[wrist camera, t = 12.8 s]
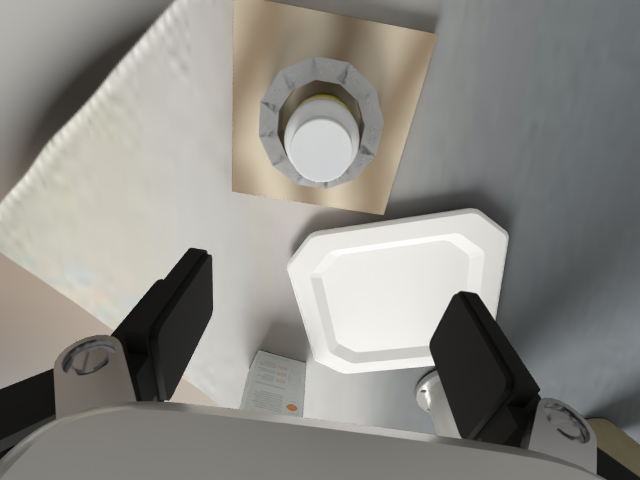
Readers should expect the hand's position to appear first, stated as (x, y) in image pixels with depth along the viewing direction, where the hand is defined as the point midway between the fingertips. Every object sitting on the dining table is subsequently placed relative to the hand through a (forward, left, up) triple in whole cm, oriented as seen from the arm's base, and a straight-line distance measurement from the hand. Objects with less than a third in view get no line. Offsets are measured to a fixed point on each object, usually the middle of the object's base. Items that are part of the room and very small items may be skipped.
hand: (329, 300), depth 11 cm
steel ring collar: (+1, -3, -20) cm, 20 cm away
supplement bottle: (+1, -3, -20) cm, 20 cm away
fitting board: (+1, -3, -21) cm, 21 cm away
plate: (-12, +17, -22) cm, 30 cm away
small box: (+2, +34, -21) cm, 40 cm away
